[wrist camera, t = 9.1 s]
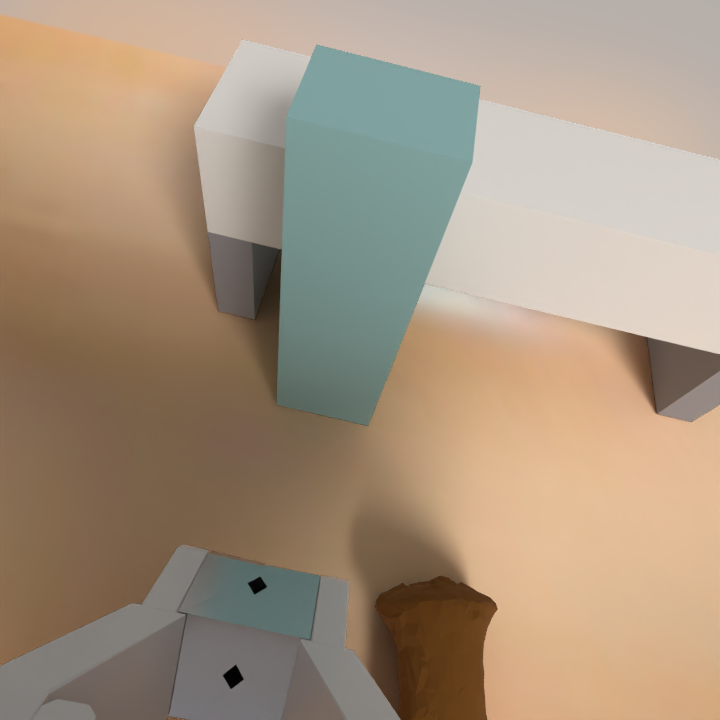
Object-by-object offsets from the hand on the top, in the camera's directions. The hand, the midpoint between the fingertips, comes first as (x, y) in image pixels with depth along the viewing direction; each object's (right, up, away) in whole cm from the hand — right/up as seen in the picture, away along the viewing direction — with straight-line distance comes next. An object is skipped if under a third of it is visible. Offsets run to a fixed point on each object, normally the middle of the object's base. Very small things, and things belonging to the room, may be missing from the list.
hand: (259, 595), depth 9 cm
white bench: (+6, +6, +14) cm, 16 cm away
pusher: (+1, +7, +14) cm, 15 cm away
